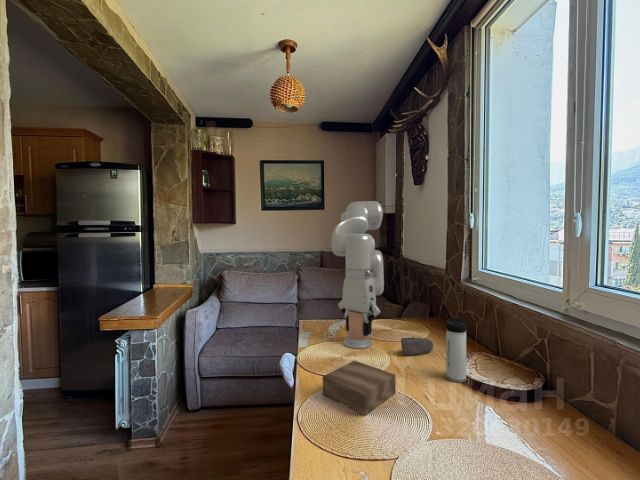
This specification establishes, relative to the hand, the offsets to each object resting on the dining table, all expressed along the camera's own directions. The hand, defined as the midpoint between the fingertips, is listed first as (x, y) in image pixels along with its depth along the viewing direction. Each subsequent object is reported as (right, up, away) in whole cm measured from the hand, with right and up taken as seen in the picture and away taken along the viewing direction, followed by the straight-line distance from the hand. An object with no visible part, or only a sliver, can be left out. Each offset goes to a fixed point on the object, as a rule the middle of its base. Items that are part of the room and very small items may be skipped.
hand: (358, 331), depth 96 cm
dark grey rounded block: (+28, -19, +32) cm, 47 cm away
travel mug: (+35, -19, +10) cm, 41 cm away
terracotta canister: (0, -2, 0) cm, 2 cm away
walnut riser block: (0, -20, 0) cm, 20 cm away
